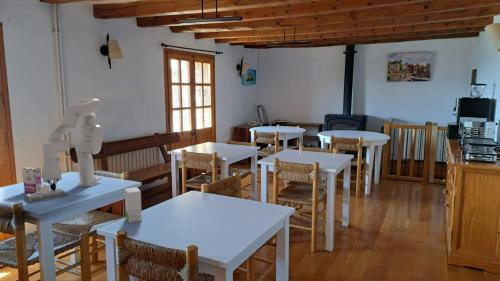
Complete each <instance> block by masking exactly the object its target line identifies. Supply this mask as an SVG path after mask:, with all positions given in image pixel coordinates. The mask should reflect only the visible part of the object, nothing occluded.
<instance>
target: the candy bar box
mask: <svg viewBox="0 0 500 281" xmlns="http://www.w3.org/2000/svg"><path fill="white" fill-rule="evenodd" d="M21 169H22V180H23V189H24V193H25V194H33V193H38V192H41V186H43V184H42V183H43V180H42V170H41V167H34V166H26V167H23V168H21Z"/></svg>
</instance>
